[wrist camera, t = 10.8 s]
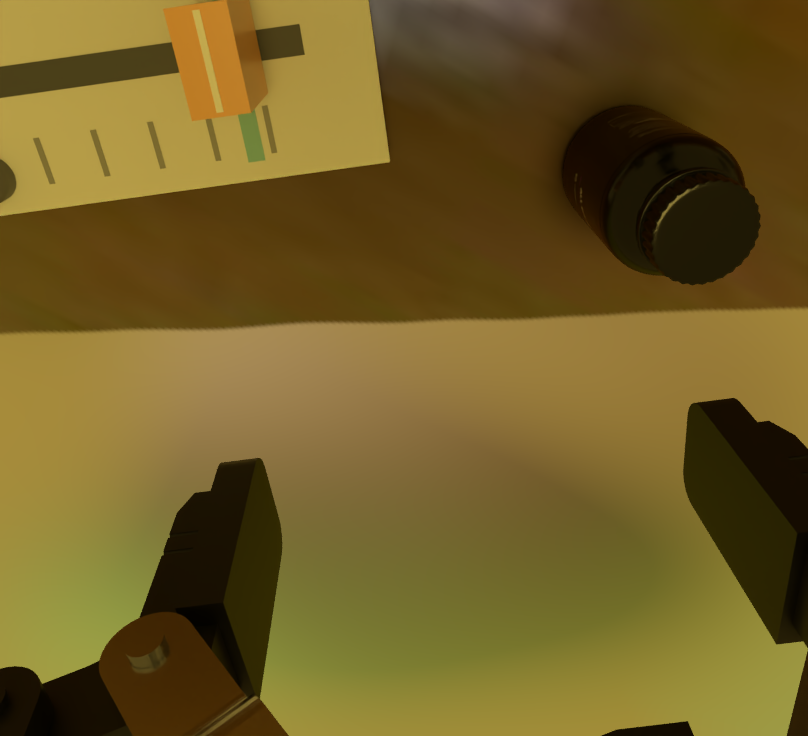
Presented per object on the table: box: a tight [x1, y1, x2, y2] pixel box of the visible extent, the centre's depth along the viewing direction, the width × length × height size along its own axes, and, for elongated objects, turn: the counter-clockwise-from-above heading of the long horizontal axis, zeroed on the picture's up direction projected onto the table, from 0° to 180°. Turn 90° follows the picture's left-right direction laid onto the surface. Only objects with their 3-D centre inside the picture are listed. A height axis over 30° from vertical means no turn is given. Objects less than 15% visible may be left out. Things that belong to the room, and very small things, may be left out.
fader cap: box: [163, 0, 268, 121], centre depth 33 cm, size 4×3×6 cm, turn 7°
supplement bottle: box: [563, 106, 760, 285], centre depth 36 cm, size 7×7×12 cm
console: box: [0, 0, 390, 216], centre depth 36 cm, size 13×24×4 cm, turn 97°
